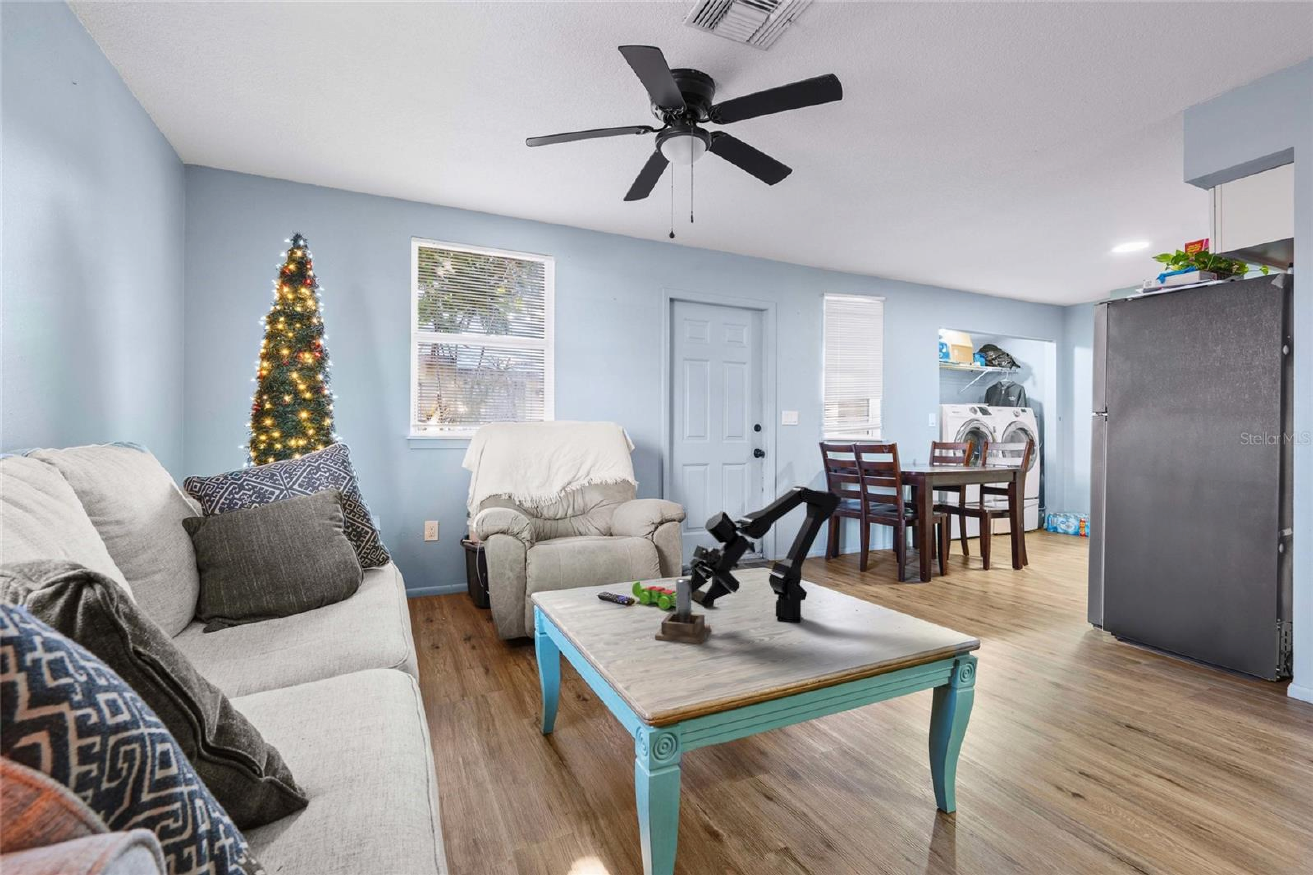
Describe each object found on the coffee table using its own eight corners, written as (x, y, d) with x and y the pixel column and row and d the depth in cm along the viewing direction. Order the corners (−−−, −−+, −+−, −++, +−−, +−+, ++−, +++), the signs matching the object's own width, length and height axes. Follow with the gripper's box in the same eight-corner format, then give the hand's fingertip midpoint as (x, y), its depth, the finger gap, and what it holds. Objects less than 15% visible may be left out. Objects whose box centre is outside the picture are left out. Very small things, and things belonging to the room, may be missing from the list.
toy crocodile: (692, 609, 180) (692, 588, 180) (678, 614, 175) (678, 593, 175) (642, 597, 192) (642, 578, 192) (628, 601, 187) (628, 582, 187)
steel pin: (694, 629, 158) (694, 580, 158) (685, 633, 154) (685, 583, 154) (681, 626, 160) (681, 577, 160) (673, 630, 157) (673, 580, 157)
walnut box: (710, 628, 161) (710, 613, 161) (701, 643, 150) (701, 627, 150) (667, 624, 165) (667, 610, 165) (655, 639, 153) (655, 623, 153)
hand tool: (715, 607, 182) (715, 592, 182) (703, 608, 181) (703, 593, 180) (688, 592, 200) (688, 578, 200) (677, 593, 198) (677, 579, 198)
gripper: (695, 529, 169) (660, 572, 165) (728, 540, 152) (690, 588, 147) (720, 554, 172) (686, 597, 168) (755, 568, 155) (718, 616, 151)
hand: (694, 599), depth 158 cm, fingers open, 9 cm apart
